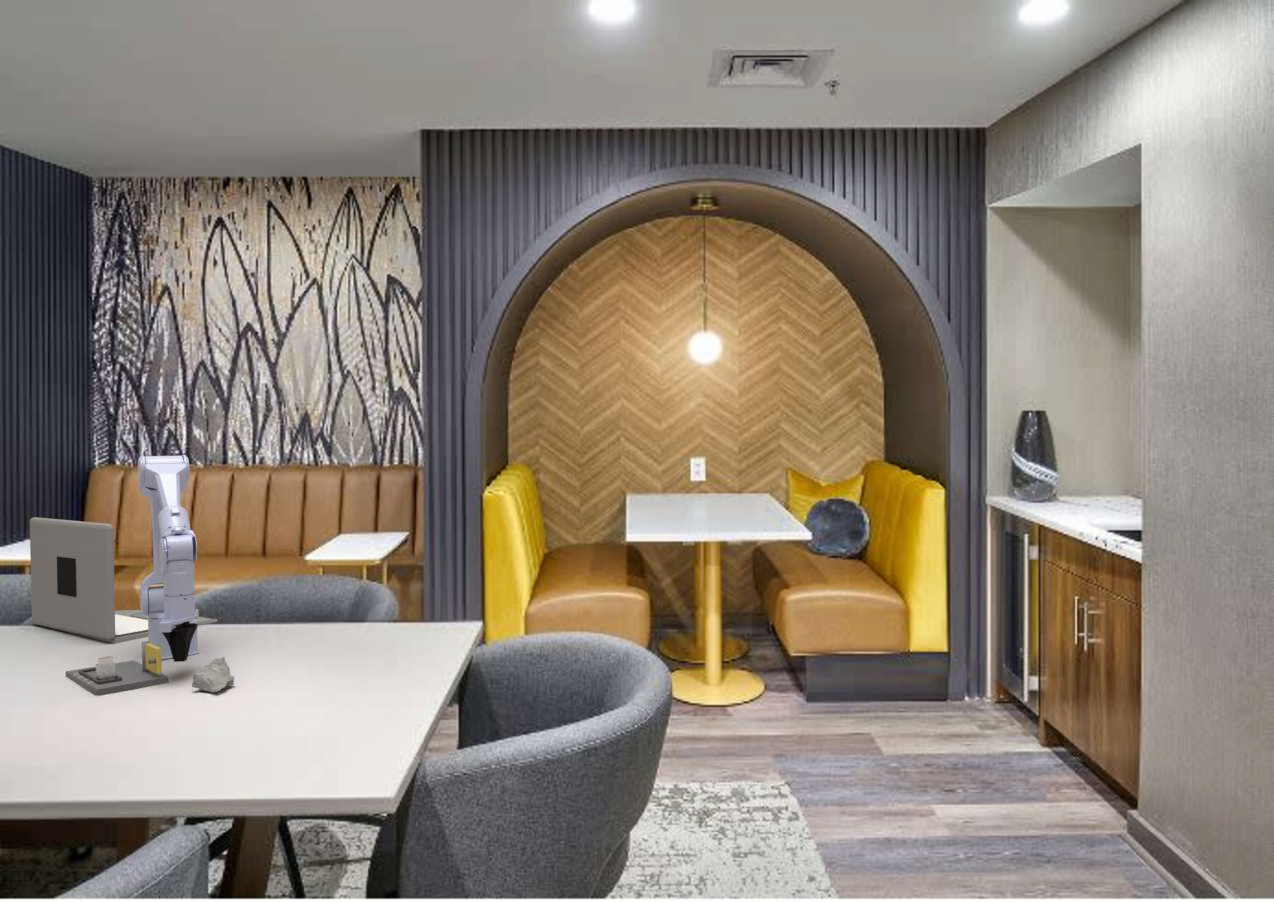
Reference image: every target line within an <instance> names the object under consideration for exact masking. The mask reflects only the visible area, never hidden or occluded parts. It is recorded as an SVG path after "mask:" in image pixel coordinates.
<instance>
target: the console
mask: <svg viewBox="0 0 1274 902" xmlns="http://www.w3.org/2000/svg"><path fill="white" fill-rule="evenodd" d="M148 643H150V641H148V640H145V641H141V663H140V662H138V661H136V660H128V661H123V662H122V661H121V662H116V663H115V662H114V663H115V676H116V679H110V680H105V681H99V680H97V679H96V666H91V667H84V668H77V669H72V670H66V671H65V678H68V679H70V680H71V681H73V682H74V683H75V684H78V686H80V687H82V688H83V689H85V690H87V691H89V692H90V693H92V694H93V695H95V696H97V697H98V696H104V695H108V694H115V693H119V692H124V691H132V690H137V689H142V688H147V687H153V686H158V685H162V684H169V681H170V679H169V676H168V675H165V674H164V673H163V672H162V673H161V674H156V673H154V672H152V671H150V670H148V669H146V659H145V644H148Z"/></svg>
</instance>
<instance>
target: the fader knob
mask: <svg viewBox="0 0 1274 902" xmlns="http://www.w3.org/2000/svg"><path fill="white" fill-rule="evenodd" d="M95 667H96V679H97V680H99V681H105V680H110V679H116V676H115V662H114V656H112V655H111V656H104V657H98V658H97V663H96V664H95Z"/></svg>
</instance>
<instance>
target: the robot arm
mask: <svg viewBox="0 0 1274 902" xmlns="http://www.w3.org/2000/svg"><path fill="white" fill-rule="evenodd" d="M190 474H191V473H190V461H189V457H188V456H187V455H186V454H182V455H154V456H153V455H149V456H148V455H140V456H139V458H138V459H137V479H138V482H137V483H138V484H137V485H138V490H139V494H140V495H143V496H145V497H147V498H148V500H149V503H150V508H151V529H152V530H151V532H152V551H153V553H152V556H153V570H152V572H151V573H150V574H148V575H147V576H146V577H144V578H143V579H142V580H141V583H140V592H139V605H140V606H139V607H140V610H141V613H142V614H143V615H144V616H147V617H148V637H147V638H148V640H147V641H150V644H152V645H155V646H157V647H159V648H161V659H162V661H163V660H169V659H172V660H173V662H175V663H178V662H186V661H188V660H187V659H188V657H189V656H194V655H198V654H199V653H200V651H198V648H199V647H198V627H199V626H197V621H196V619H198V618H199V615H200V612H199V611H200V610H199V608H196V599H195V598H196V597H195V594H196V592H195V562H196V561H197V557H198V542H197V538H196V535H195V533H194V531H193V530H192V529H191V524H190V523H191V522H190V518H189V512H188V510H186V509H185V507H183V506H182V505H181V494H183V493H185V491H186V488H187V485H188V482H189V480H190ZM193 561H194V562H193ZM154 585H157V586H154Z"/></svg>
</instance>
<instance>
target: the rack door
mask: <svg viewBox="0 0 1274 902" xmlns="http://www.w3.org/2000/svg"><path fill="white" fill-rule="evenodd" d="M145 659H146V669H148V670H150V671H152V672H154V673H156V674H161V673H162V674H163V672H162V670H163V669H162V668H163V666H162V665H163V663H162V661H163V660H162V659H161V648H159V647H157V646H155V645H152V644H150V643H148V644H145Z"/></svg>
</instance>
